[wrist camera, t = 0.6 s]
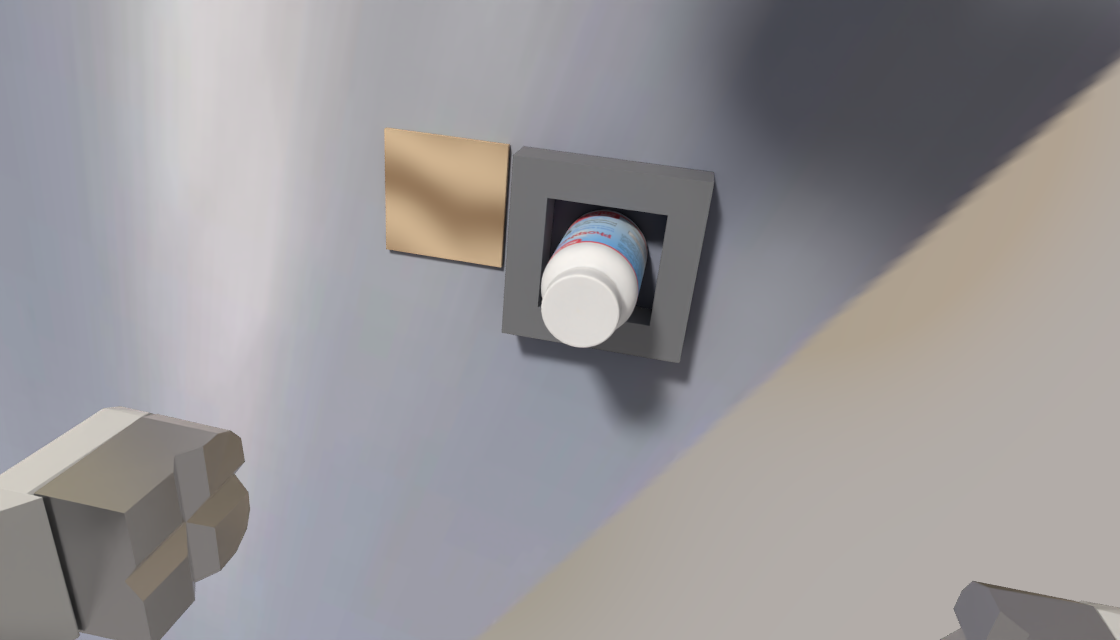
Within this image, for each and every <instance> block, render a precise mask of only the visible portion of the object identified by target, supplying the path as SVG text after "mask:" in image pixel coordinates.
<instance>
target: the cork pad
mask: <svg viewBox="0 0 1120 640" xmlns="http://www.w3.org/2000/svg"><path fill="white" fill-rule="evenodd" d="M384 133H385V194H386V249H389V250H395V251H401V252H408V253H414V254H420V255H426V256H432V257H439V258H445V259H451V260H457V261H464V262H470V263H476V264H482V265H489V266H495V267H502V264H503V248H504V232H505V215H506V199H507V183H508V166H509V150H510V144H503V143H495V142H488V141H481V140H473V139H466V138H459V137H451V136H444V135H437V134H429V133H422V132H415V131H407V130H400V129H393V128H385V129H384Z"/></svg>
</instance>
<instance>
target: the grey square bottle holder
mask: <svg viewBox="0 0 1120 640" xmlns="http://www.w3.org/2000/svg"><path fill="white" fill-rule="evenodd" d="M713 187H714V172H709V171H701V170H694V169H686V168H679V167H672V166H664V165H657V164H650V163H642V162H635V161H628V160H620V159H613V158H606V157H598V156H591V155H584V154H576V153H569V152H562V151H554V150H547V149H540V148H532V147H525V146H524V147H522V148H521V149H520V150H519V151H517V152H516V153H515V154H514V155H513V164H512V179H511V195H510V211H509V226H508V242H507V258H506V273H505V289H504V305H503V320H502V333H507V334H513V335H518V336H524V337H530V338H536V339H542V340H547V341H553V342H559V343H563V342H561V341H559V340H558V339H557V338H555V337H554V336H553V335H552V334H551V333H550V331H549V330H548V329H547V327H546V325H545V323H544V321H543V318H542V312H541V305H542V300H543V299H542V294H541V281H542V276H543V273H544V270H545V268H546V266H547V264H548V262H549V258H550V247H551V236H552V225H553V215H554V204H555V199H558V200H565V201H572V202H579V203H586V204H593V205H600V206H607V207H613V208H620V209H627V210H634V211H641V212H648V213H655V214H661V215H668V218H667V224H666V230H665V236H664V242H663V248H662V254H661V260H660V266H659V272H658V278H657V284H656V290H655V296H654V302H653V308H652V309H650V308H644V307H638V306H635V308H634V310H633V312H632V314H631V315H630V317H629V318H628V320H627V321H626V322H625V323H624V324H623V325H621V326H620V327H619V328H617V329H616V330H615V331H614V332H613V334H612V335H611V336H610V337H609V338H608V339H607V340H605V341H604V342H602V343H601V344H598V345H596V346H592V347H588V348H594V349H599V350H605V351H611V352H617V353H622V354H628V355H634V356H640V357H646V358H651V359H657V360H663V361H669V362H674V363H680V358H681V352H682V347H683V342H684V337H685V332H686V327H687V321H688V316H689V311H690V306H691V301H692V295H693V290H694V285H695V280H696V275H697V270H698V264H699V259H700V254H701V249H702V244H703V239H704V233H705V228H706V223H707V218H708V213H709V208H710V202H711V197H712V192H713Z"/></svg>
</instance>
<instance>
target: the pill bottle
mask: <svg viewBox="0 0 1120 640" xmlns="http://www.w3.org/2000/svg"><path fill="white" fill-rule="evenodd" d="M647 255H648V250H647V243H646V240H645V238H644V235H643V234H642V232H641V230H640V229H639V228H638V227H637V225H636V224H635V223H634V222H633V221H632V220H630V219H629V218H628V217H626V216H625V215H623V214H621V213H618V212H616V211H611V210H596V211H592V212H589V213H586V214H584V215H582V216H581V217H579V218H578V219H577V220H576V221H575V222H574V223H573V224H572V225H571V226H570V228H569V229H568V230H567V232H566V234H565V236H564V237H563V239H562V241H561V242H560V244H559V245H558V247H557V249H556V250H555V252H554V254H553V256H552V257H551V259H550V261H549V262H548V264H547V266H546V268H545V270H544V273H543V276H542V281H541V294H542V299H543V300H542V305H541V312H542V318H543V321H544V323H545V325H546V327H547V329H548V330H549V331H550V333H551V334H552V335H553V336H554V337H555V338H557V339H558V340H559V341H561V342H563V343H565V344H567V345H570V346H573V347H581V348H586V347H592V346H596V345H598V344H601V343H602V342H604V341H605V340H607V339H608V338H609V337H610V336H611V335H612V334H613V332H614V331H615V330H616V329H617V328H619V327H620V326H621V325H623V324H624V323H625V322H626V321H627V320H628V318H629V317H630V315H631V314H632V312H633V310H634V308H635V305H636V302H637V298H638V294H639V290H640V286H641V282H642V278H643V274H644V271H645V266H646V262H647Z"/></svg>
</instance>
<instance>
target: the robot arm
mask: <svg viewBox="0 0 1120 640" xmlns="http://www.w3.org/2000/svg"><path fill="white" fill-rule="evenodd" d="M244 462H245V460H244V454H243V448H242V441H241V438H240V437H239V436H237V435H236V434H235V433H233V432H232V431H230V430H226V429H221V428H217V427H212V426H208V425H204V424H199V423H195V422H190V421H186V420H182V419H177V418H173V417H168V416H164V415H160V414H152V413H148V412H144V411H139V410H135V409H130V408H126V407H121V406H119V407H111V408H103V409H102V410H100V411H99V412H97V413H96V414H94V415H93V416H91V417H89V418H88V419H86V420H85V421H83V422H82V423H80V424H79V425H77V426H75V427H74V428H72V429H71V430H69V431H68V432H66V433H65V434H63V435H61V436H60V437H58V438H57V439H55V440H54V441H52V442H51V443H49V444H47V445H46V446H44V447H43V448H41V449H40V450H38V451H37V452H35V453H33V454H32V455H30V456H29V457H27V458H26V459H24V460H23V461H21V462H19V463H18V464H16V465H15V466H13V467H12V468H10V469H9V470H7V471H5V472H4V473H2V474H1V475H0V640H75V639H76V638H78V637H79V636H80V634H79V632H82V633H86V634H91V635H96V636H100V637H105V638H109V639H114V640H160V639H161V638H162V637H163V636H164V635H165V634H166V632H167V631H168V630H169V629H170V628H171V627H172V626H173V624H174V623H175V622H176V621H177V620H178V619H179V618H180V617H181V615H182V614H183V613H184V612H185V611H186V610H187V609H188V607H189V606H190V605H191V604H192V603H193V602H194V601H195V582H197V581H200V580H202V579H204V578H206V577H208V576H210V575H213V574H215V573H217V572H219V571H221V570H222V568H223V567H224V566H225V565H226V564H227V562H228V561H229V560H230V559H231V558H232V556H233V555H234V554H235V553H236V551H237V549H238V547H239V545H240V543H241V540H242V538H243V536H244V534H245V532H246V530H247V525H248V519H249V512H250V504H249V494H248V491H247V490H246V488H245V487H244V486H243V484H242V483H241V482H240V480H239V479H238V478H237V477H236V475H235V473H236V472H237V471H238V469H239V468H240V467H241V466H242V464H243V463H244ZM954 611H955V614H956V616H957V618H958V621H959V623H960V626H961V628H960V629H959V630H957V631H955V632H953V633H951V634H949V635H947V636H946V637H944V638H942V639H940V640H1120V608H1118V607H1113V606H1107V605H1102V604H1096V603H1091V602H1085V601H1080V602H1076V601H1072V600H1067V599H1062V598H1056V597H1052V596H1047V595H1042V594H1037V593H1031V592H1027V591H1021V590H1016V589H1011V588H1006V587H1001V586H996V585H991V584H986V583H981V582H976V581H972V582H971V583H970V584H969V585H968V586H967V587H966V588H964V589H963V590H962V592H961V594H960V596H959V598H958V600H957V602H956V605H955V607H954Z"/></svg>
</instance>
